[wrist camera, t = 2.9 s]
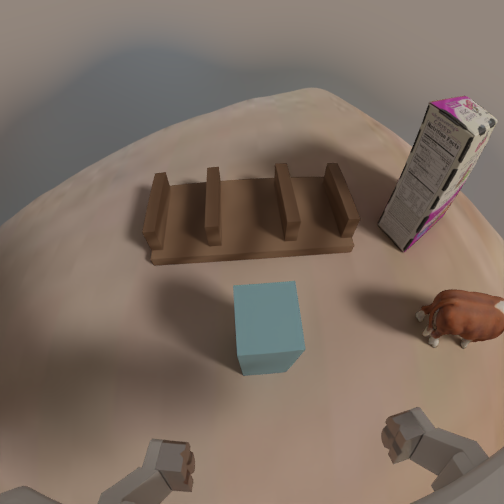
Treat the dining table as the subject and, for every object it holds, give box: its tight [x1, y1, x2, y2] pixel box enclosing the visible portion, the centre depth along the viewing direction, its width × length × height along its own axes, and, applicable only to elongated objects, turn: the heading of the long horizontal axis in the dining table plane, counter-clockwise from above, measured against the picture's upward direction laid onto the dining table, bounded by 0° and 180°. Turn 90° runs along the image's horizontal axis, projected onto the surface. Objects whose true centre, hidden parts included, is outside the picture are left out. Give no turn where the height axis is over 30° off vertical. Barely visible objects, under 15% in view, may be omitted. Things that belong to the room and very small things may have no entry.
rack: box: [142, 163, 360, 265], centre depth 28 cm, size 20×10×4 cm, turn 94°
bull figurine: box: [416, 290, 504, 349], centre depth 18 cm, size 4×13×8 cm, turn 71°
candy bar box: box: [377, 96, 498, 252], centre depth 23 cm, size 11×5×16 cm, turn 123°
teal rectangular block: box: [233, 281, 305, 376], centre depth 18 cm, size 4×4×9 cm
